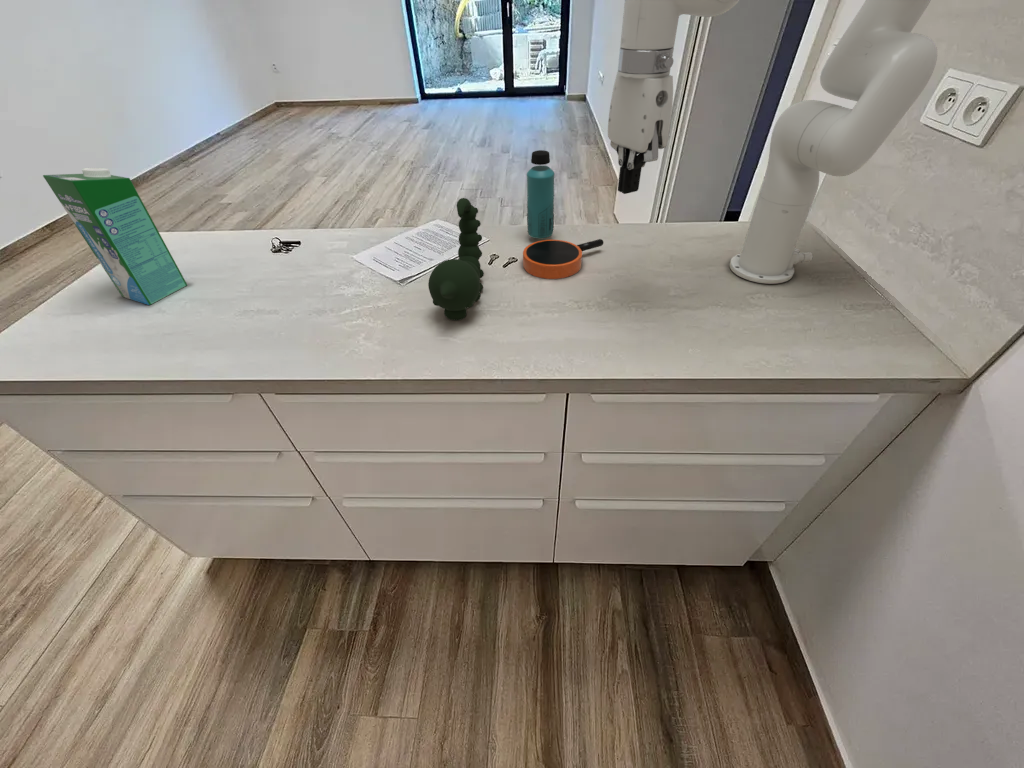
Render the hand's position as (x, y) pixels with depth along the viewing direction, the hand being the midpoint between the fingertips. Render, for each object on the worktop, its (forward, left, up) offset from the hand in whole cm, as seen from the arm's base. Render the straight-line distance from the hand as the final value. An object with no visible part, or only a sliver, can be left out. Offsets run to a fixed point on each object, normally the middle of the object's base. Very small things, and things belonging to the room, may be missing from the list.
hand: (627, 190), depth 81 cm
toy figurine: (+30, -4, -21) cm, 37 cm away
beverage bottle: (+10, -30, -21) cm, 38 cm away
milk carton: (+96, -19, -21) cm, 100 cm away
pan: (+6, -17, -21) cm, 28 cm away
